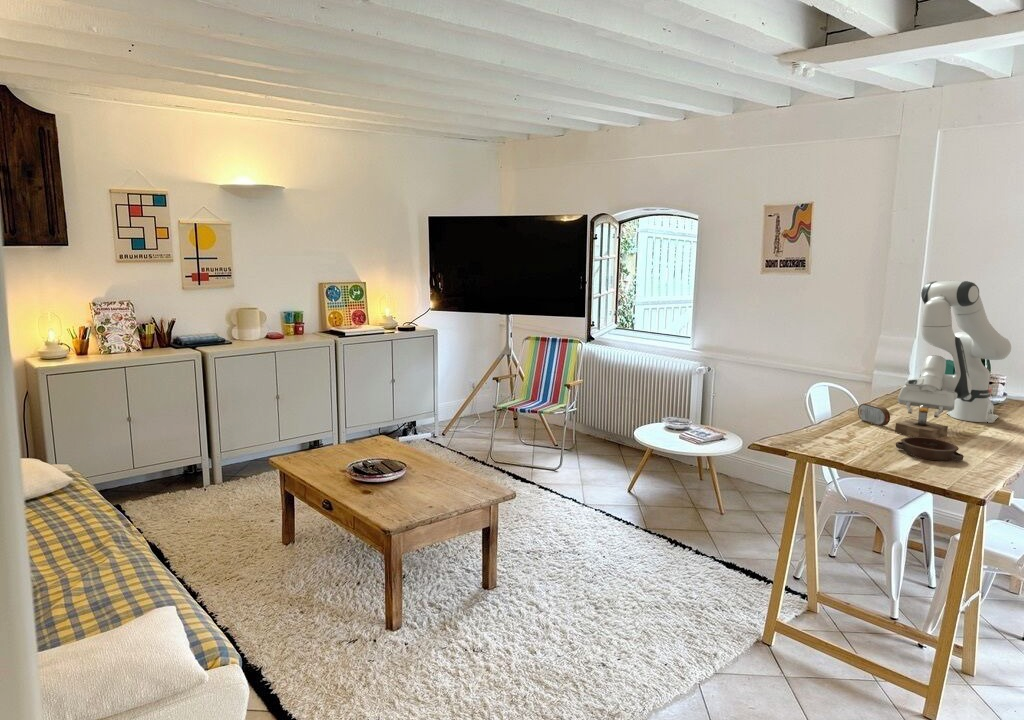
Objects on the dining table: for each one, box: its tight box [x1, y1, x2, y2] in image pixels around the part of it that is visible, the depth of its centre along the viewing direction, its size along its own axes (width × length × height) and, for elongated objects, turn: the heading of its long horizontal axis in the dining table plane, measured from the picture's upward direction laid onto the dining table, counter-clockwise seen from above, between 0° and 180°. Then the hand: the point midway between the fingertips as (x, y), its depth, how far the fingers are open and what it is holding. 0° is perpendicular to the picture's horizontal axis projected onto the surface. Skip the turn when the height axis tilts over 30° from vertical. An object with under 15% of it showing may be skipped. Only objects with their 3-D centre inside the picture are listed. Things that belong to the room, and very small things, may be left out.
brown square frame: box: [894, 418, 949, 440], centre depth 285 cm, size 14×14×4 cm
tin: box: [857, 402, 891, 427], centre depth 301 cm, size 15×3×8 cm, turn 20°
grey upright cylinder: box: [917, 405, 929, 427], centre depth 284 cm, size 3×3×12 cm
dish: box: [895, 436, 965, 462], centre depth 256 cm, size 18×22×5 cm
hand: (922, 414), depth 283 cm, fingers open, 8 cm apart
